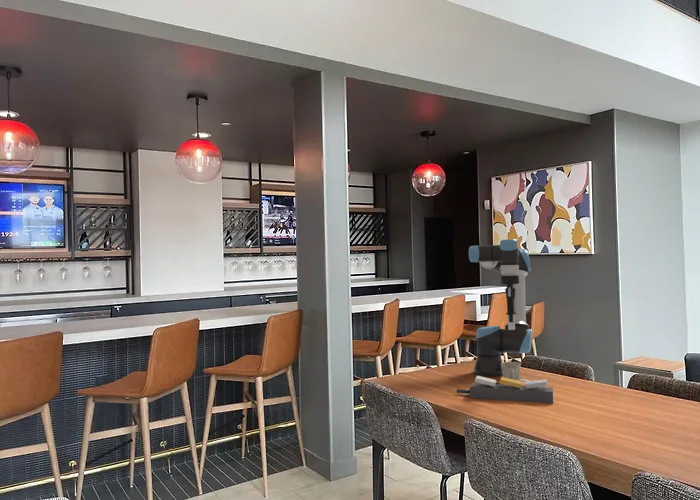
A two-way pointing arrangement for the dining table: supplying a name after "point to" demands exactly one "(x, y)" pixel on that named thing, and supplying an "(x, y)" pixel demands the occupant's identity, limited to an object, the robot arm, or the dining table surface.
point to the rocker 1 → (485, 381)
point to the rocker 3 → (536, 383)
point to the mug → (511, 370)
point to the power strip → (510, 393)
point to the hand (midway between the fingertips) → (511, 329)
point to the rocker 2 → (510, 382)
